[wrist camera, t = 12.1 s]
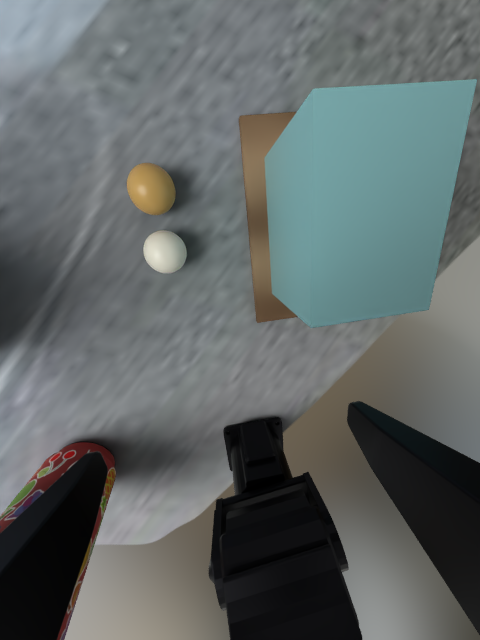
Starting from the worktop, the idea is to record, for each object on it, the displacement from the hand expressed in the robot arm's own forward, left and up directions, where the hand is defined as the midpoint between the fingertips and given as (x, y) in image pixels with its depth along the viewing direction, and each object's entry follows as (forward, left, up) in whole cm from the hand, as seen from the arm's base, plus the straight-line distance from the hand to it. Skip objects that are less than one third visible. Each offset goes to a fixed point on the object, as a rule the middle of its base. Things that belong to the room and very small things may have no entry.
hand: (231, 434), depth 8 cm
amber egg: (+10, +3, -13) cm, 17 cm away
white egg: (+6, +3, -13) cm, 15 cm away
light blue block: (+6, -9, -12) cm, 16 cm away
